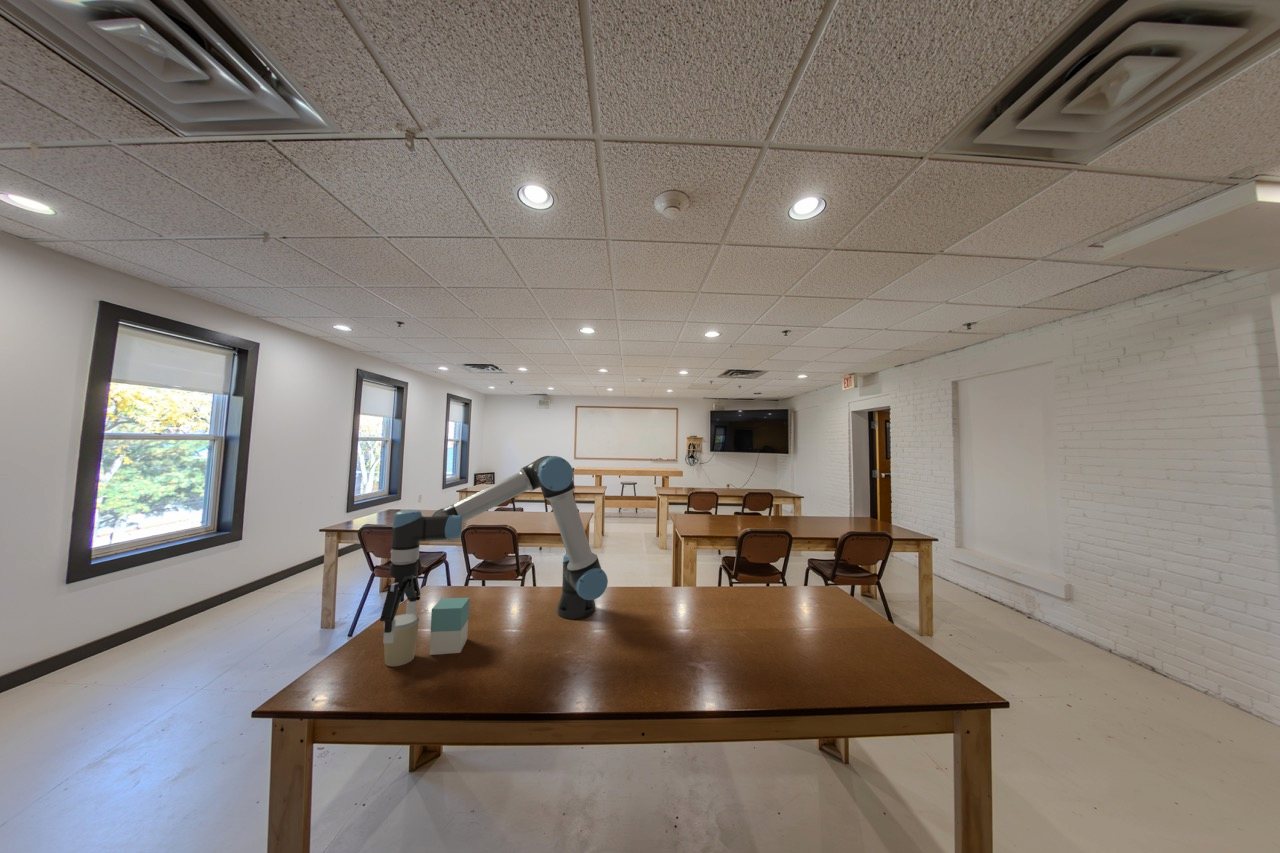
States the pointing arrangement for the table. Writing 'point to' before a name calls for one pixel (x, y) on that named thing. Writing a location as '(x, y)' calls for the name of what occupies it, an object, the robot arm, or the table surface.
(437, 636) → the cream block
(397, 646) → the coffee cup
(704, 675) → the table surface
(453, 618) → the teal block
